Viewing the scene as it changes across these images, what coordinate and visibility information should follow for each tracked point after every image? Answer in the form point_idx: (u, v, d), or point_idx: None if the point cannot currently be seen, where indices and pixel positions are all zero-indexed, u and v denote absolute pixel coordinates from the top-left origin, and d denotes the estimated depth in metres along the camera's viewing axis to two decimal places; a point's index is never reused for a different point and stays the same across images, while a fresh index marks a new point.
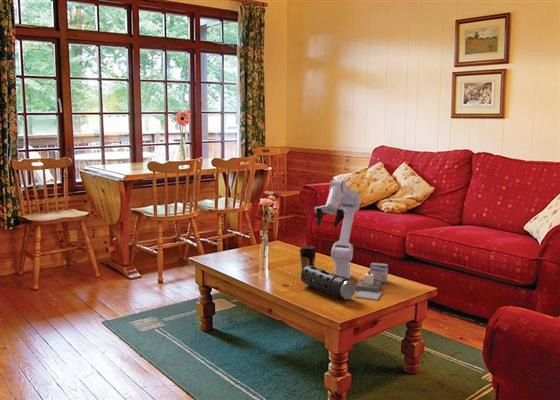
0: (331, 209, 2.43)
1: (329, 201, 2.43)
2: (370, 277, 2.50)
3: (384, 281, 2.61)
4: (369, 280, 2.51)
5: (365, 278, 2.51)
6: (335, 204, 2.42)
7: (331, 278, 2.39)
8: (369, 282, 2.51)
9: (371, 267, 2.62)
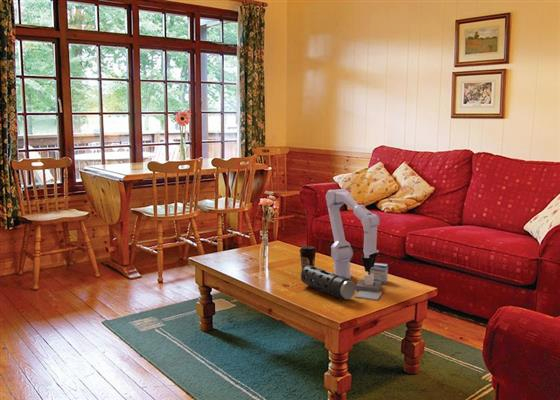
0: None
1: (375, 246, 2.48)
2: (370, 277, 2.50)
3: (384, 281, 2.61)
4: (369, 280, 2.51)
5: (365, 278, 2.51)
6: None
7: (331, 278, 2.39)
8: (369, 282, 2.51)
9: (371, 267, 2.62)
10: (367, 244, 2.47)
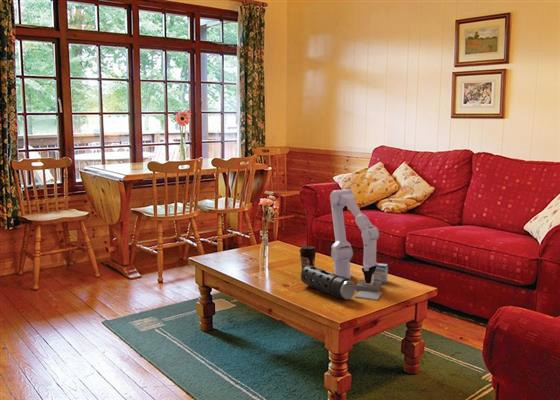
0: None
1: (375, 259, 2.49)
2: None
3: (384, 281, 2.61)
4: None
5: None
6: None
7: (331, 278, 2.39)
8: None
9: None
10: (367, 256, 2.48)
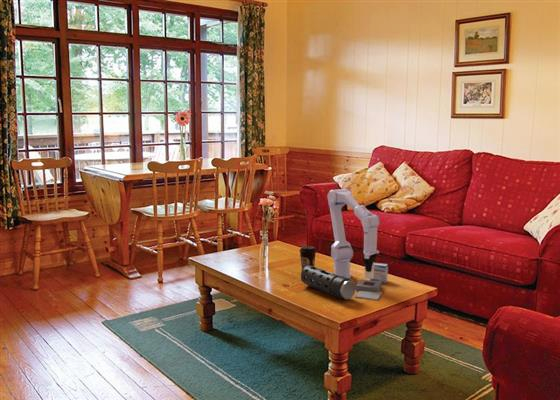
0: None
1: (375, 247, 2.47)
2: None
3: (384, 281, 2.61)
4: None
5: None
6: None
7: (331, 278, 2.39)
8: None
9: None
10: (367, 244, 2.46)
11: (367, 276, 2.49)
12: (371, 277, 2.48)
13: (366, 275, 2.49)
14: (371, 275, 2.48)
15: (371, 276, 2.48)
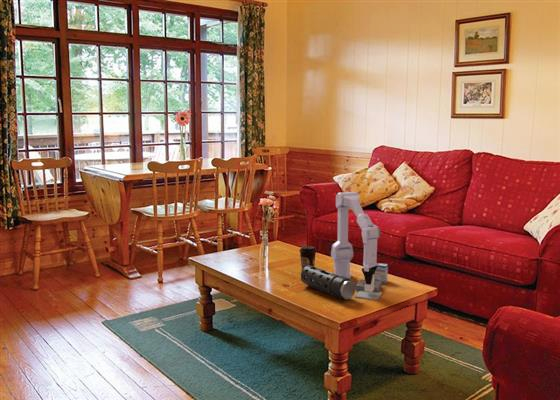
0: None
1: (375, 259, 2.40)
2: None
3: (384, 281, 2.61)
4: None
5: None
6: None
7: (331, 278, 2.39)
8: None
9: None
10: (367, 257, 2.39)
11: (367, 289, 2.42)
12: (371, 290, 2.42)
13: (366, 288, 2.42)
14: (371, 288, 2.42)
15: (371, 289, 2.42)
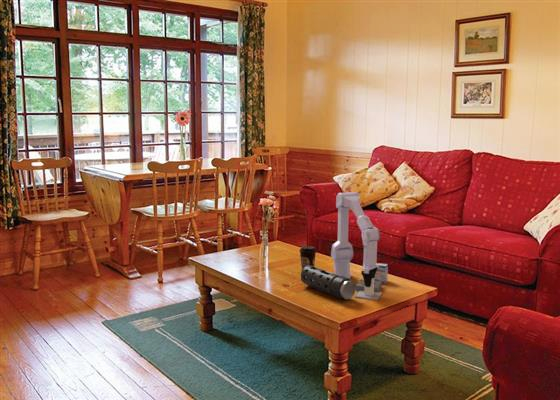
0: None
1: (375, 261, 2.40)
2: None
3: (384, 281, 2.61)
4: None
5: None
6: None
7: (331, 278, 2.39)
8: (369, 287, 2.42)
9: None
10: (367, 259, 2.39)
11: (367, 293, 2.43)
12: (371, 294, 2.42)
13: (366, 292, 2.43)
14: (370, 292, 2.42)
15: (371, 293, 2.42)
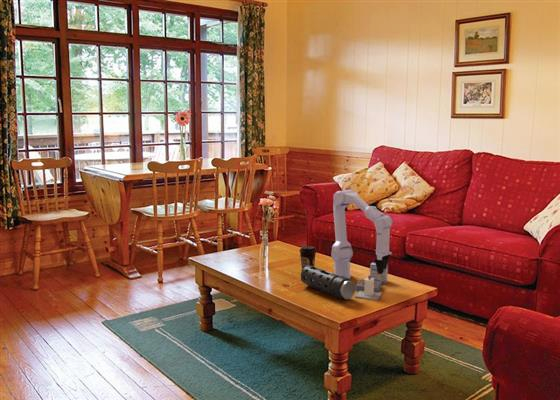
0: None
1: (388, 248, 2.45)
2: (370, 282, 2.41)
3: (384, 281, 2.61)
4: (369, 285, 2.42)
5: (365, 283, 2.42)
6: None
7: (331, 278, 2.39)
8: (369, 287, 2.42)
9: (371, 267, 2.62)
10: (380, 245, 2.44)
11: (367, 293, 2.43)
12: (371, 294, 2.42)
13: (366, 292, 2.43)
14: (370, 292, 2.42)
15: (371, 293, 2.42)
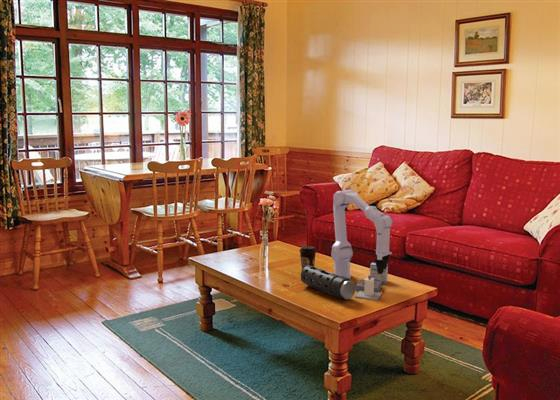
0: None
1: (388, 248, 2.45)
2: (370, 282, 2.41)
3: (384, 281, 2.61)
4: (369, 285, 2.42)
5: (365, 283, 2.42)
6: None
7: (331, 278, 2.39)
8: (369, 287, 2.42)
9: (371, 267, 2.62)
10: (380, 245, 2.44)
11: (367, 293, 2.43)
12: (371, 294, 2.42)
13: (366, 292, 2.43)
14: (370, 292, 2.42)
15: (371, 293, 2.42)
